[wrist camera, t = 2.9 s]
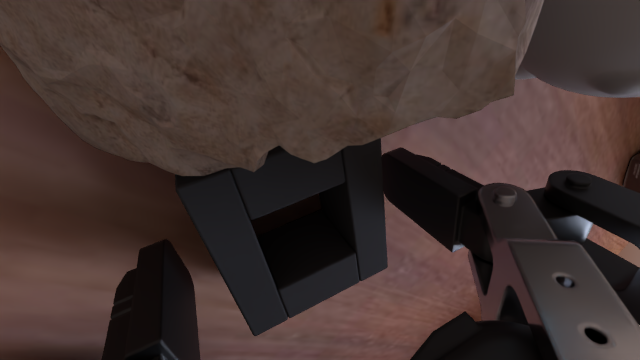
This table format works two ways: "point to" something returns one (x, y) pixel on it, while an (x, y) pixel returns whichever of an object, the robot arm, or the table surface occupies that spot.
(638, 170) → the box
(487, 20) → the stone
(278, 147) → the top pad
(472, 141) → the table surface
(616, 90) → the chubby cartoon animal
